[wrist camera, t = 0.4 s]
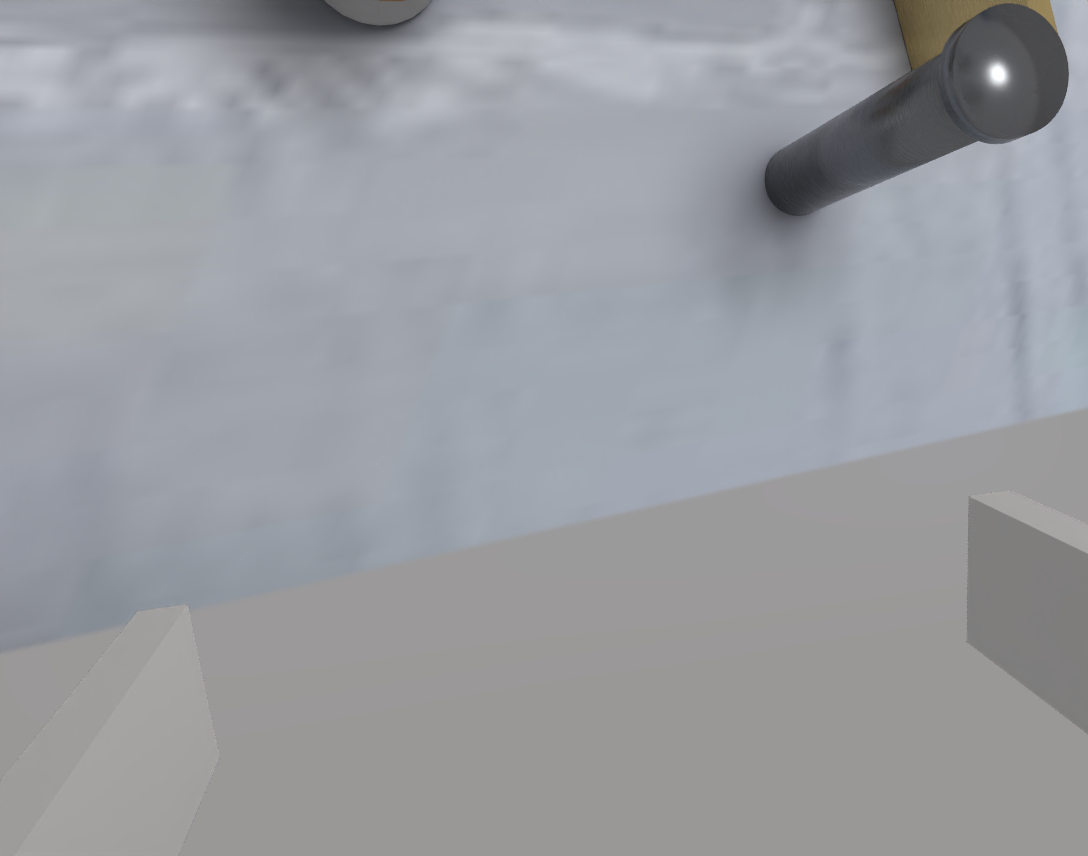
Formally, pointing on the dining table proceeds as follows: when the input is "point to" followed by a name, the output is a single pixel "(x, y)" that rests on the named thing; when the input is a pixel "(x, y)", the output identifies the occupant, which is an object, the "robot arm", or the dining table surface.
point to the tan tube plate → (946, 22)
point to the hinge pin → (931, 111)
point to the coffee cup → (379, 10)
